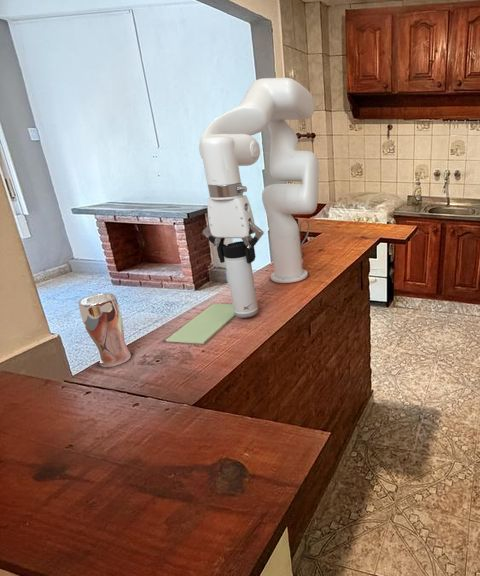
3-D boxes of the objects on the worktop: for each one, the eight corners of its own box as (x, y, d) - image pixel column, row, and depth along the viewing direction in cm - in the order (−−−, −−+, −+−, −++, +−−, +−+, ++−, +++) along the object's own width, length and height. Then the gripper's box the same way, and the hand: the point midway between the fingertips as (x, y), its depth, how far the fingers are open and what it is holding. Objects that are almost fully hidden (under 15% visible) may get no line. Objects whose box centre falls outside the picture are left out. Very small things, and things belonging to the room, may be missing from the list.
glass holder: (276, 256, 160) (272, 220, 155) (304, 249, 170) (301, 214, 165) (289, 260, 155) (285, 223, 150) (317, 252, 165) (314, 216, 160)
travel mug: (252, 319, 105) (240, 246, 97) (230, 317, 106) (216, 245, 98) (263, 308, 111) (253, 239, 103) (242, 307, 112) (230, 238, 104)
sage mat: (213, 304, 117) (213, 303, 117) (245, 306, 116) (245, 304, 116) (165, 341, 97) (165, 339, 97) (203, 343, 96) (203, 342, 95)
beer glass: (89, 365, 87) (68, 303, 82) (118, 349, 94) (101, 290, 88) (112, 370, 85) (92, 307, 80) (140, 354, 91) (123, 294, 86)
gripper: (266, 188, 97) (275, 257, 104) (201, 188, 100) (214, 256, 107) (253, 194, 91) (263, 267, 98) (183, 193, 93) (198, 265, 100)
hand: (237, 260), depth 102 cm, fingers closed on travel mug, 6 cm apart
